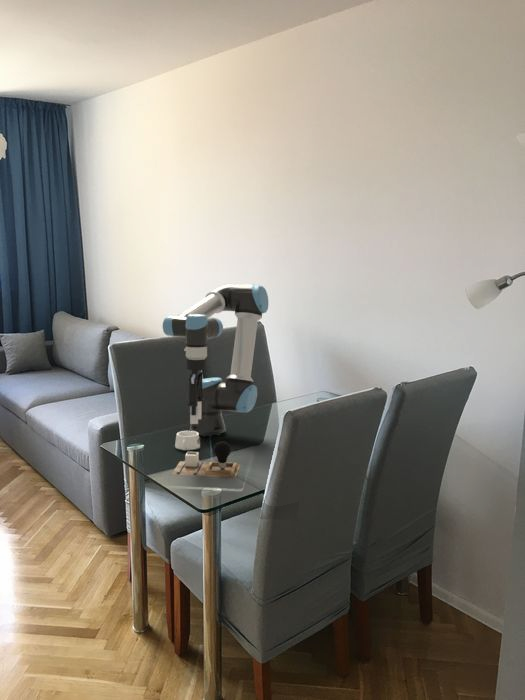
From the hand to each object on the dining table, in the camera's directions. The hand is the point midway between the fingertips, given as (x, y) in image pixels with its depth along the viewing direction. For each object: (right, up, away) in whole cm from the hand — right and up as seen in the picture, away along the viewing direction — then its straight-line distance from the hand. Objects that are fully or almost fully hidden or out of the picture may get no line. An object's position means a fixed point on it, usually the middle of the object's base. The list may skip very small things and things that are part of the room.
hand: (195, 421), depth 216 cm
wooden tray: (+5, -16, -9) cm, 19 cm away
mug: (-5, -13, +16) cm, 21 cm away
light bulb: (+10, -16, -9) cm, 21 cm away
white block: (-1, -15, -5) cm, 16 cm away
